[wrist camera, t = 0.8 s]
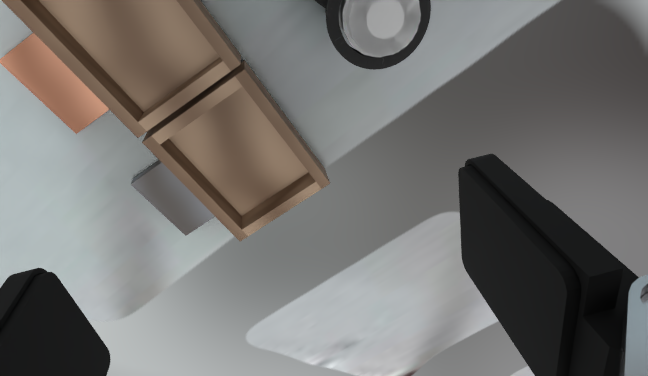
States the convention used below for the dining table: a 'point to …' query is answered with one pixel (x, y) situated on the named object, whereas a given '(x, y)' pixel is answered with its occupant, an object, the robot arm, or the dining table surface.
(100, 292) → the dining table surface
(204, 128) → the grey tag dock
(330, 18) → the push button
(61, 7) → the terracotta tag dock
